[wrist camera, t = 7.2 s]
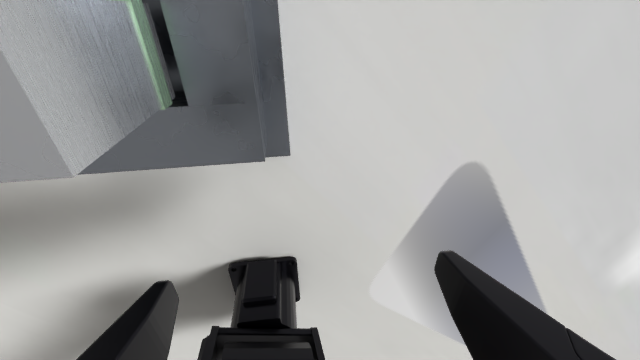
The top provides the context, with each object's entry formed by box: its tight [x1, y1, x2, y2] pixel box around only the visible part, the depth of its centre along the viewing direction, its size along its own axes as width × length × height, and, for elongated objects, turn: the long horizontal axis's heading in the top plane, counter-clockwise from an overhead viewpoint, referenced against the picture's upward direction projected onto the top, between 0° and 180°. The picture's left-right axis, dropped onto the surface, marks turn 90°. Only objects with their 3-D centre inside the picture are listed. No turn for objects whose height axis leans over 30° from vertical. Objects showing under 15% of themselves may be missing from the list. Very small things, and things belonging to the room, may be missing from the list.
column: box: [0, 0, 175, 183], centre depth 9 cm, size 4×4×8 cm
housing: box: [77, 0, 290, 175], centre depth 14 cm, size 15×15×5 cm
